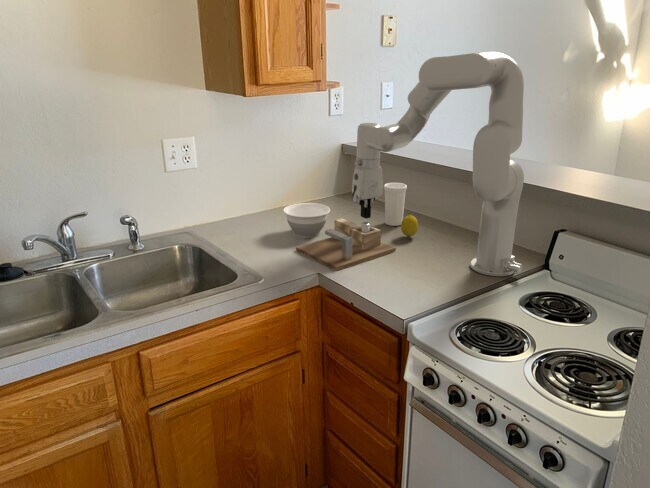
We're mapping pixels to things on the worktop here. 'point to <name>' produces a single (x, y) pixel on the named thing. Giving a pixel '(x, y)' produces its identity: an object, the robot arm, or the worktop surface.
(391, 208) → the cup
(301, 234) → the bowl
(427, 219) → the worktop surface
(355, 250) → the board
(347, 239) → the bracket
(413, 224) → the lemon
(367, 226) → the ball
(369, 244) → the link
